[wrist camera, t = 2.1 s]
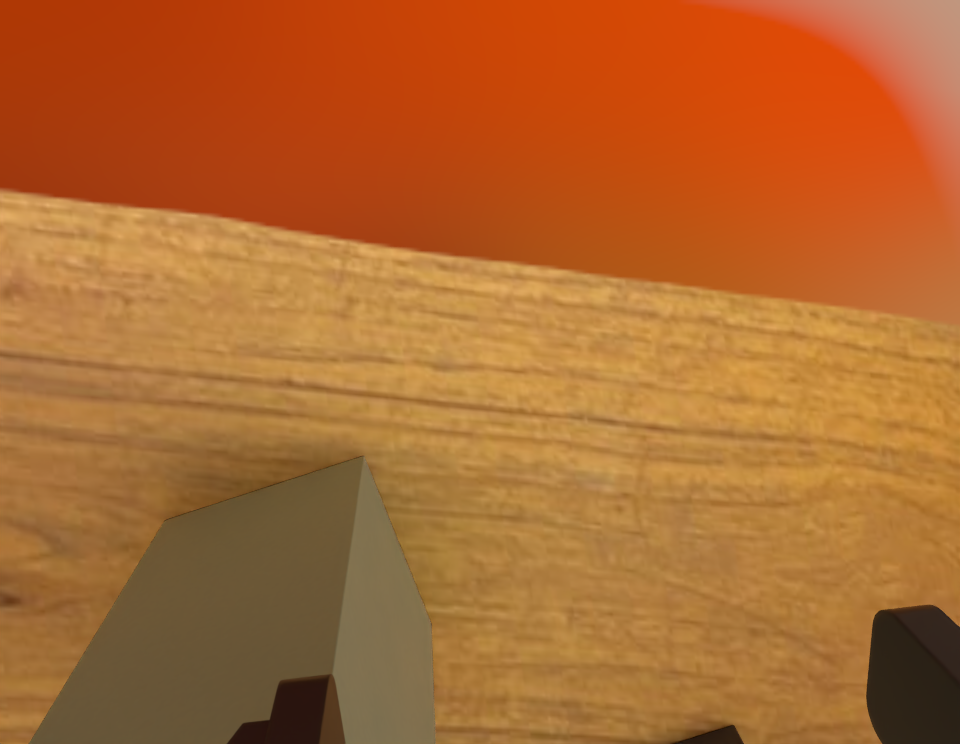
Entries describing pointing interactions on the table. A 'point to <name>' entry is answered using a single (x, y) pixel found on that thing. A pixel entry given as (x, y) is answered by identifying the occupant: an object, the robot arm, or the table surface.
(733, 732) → the stand
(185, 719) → the green block
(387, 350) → the table surface
